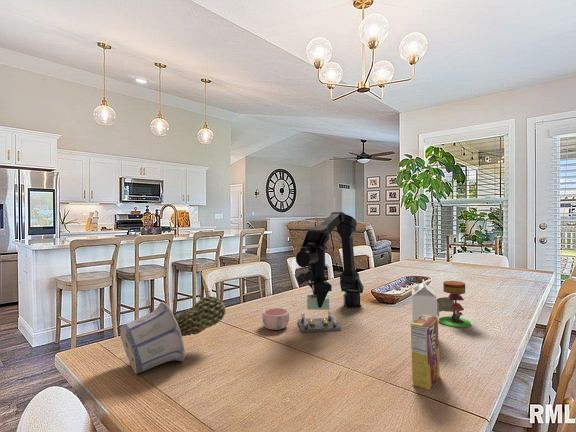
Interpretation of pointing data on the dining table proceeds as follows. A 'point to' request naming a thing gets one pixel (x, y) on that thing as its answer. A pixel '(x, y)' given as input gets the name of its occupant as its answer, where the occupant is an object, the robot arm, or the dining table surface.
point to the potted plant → (167, 332)
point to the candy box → (425, 351)
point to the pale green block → (313, 303)
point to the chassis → (318, 323)
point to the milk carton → (423, 301)
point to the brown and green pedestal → (452, 304)
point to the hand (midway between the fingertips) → (318, 305)
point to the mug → (275, 318)
